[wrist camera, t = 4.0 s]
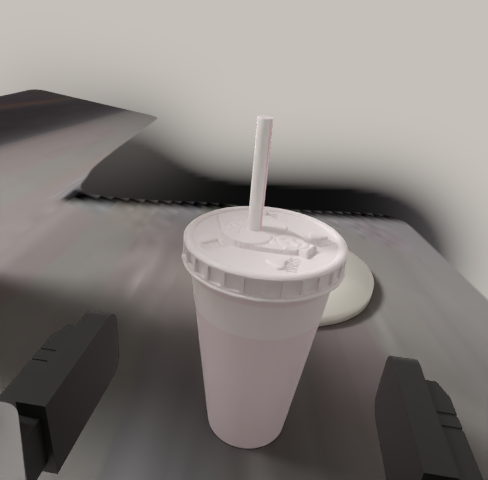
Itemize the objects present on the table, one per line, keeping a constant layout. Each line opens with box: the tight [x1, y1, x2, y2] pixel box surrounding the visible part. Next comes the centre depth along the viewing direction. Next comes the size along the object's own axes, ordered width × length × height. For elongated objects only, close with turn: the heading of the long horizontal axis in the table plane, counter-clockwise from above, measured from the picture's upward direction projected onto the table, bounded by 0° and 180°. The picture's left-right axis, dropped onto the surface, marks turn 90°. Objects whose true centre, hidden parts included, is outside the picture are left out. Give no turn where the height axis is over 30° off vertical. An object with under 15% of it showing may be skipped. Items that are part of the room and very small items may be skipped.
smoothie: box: [182, 116, 348, 449], centre depth 17 cm, size 6×6×14 cm
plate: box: [319, 250, 374, 326], centre depth 33 cm, size 13×13×1 cm
